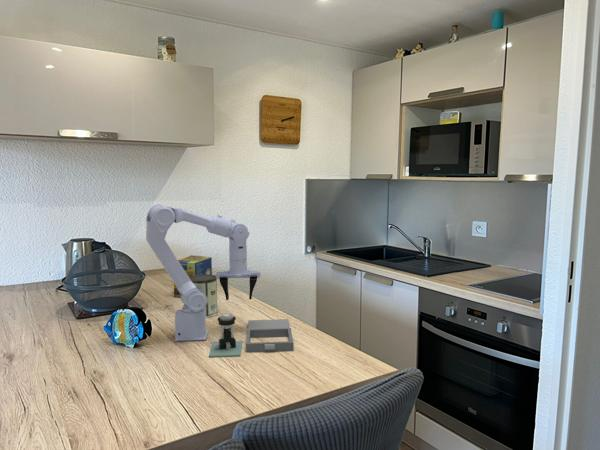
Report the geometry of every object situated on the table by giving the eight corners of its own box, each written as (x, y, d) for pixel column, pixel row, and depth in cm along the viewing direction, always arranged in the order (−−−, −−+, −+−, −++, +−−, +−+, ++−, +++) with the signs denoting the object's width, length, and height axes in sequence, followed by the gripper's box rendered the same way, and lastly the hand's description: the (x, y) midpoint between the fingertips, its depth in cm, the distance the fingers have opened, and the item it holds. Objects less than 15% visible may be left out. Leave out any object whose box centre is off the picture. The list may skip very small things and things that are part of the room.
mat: (208, 357, 131) (208, 355, 131) (212, 343, 142) (212, 341, 141) (240, 356, 131) (240, 354, 131) (242, 342, 142) (241, 340, 142)
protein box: (173, 297, 194) (172, 261, 193) (192, 288, 209) (191, 255, 207) (195, 299, 191) (194, 262, 190) (212, 290, 206) (212, 256, 204)
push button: (215, 352, 133) (215, 319, 132) (211, 346, 138) (211, 314, 137) (238, 349, 135) (237, 316, 134) (233, 343, 140) (232, 311, 139)
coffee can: (194, 309, 177) (193, 273, 175) (220, 310, 176) (220, 274, 174) (185, 317, 167) (184, 280, 165) (213, 318, 166) (212, 280, 164)
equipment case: (245, 353, 134) (245, 345, 133) (248, 323, 160) (248, 316, 160) (293, 351, 135) (293, 343, 135) (288, 322, 161) (288, 315, 161)
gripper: (214, 261, 147) (215, 302, 149) (260, 260, 148) (260, 301, 150) (216, 257, 154) (218, 297, 156) (260, 256, 155) (260, 295, 157)
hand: (239, 298), depth 153 cm, fingers open, 7 cm apart
